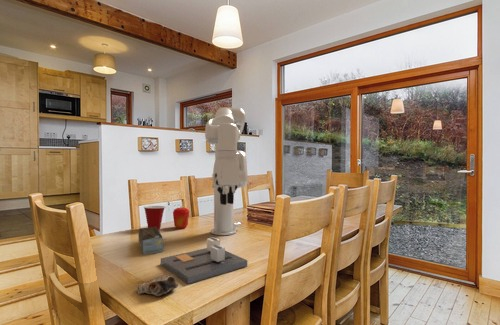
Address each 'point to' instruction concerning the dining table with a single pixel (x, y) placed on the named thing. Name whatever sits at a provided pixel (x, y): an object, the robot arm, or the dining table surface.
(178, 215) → the apple
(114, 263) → the dining table surface
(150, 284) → the rock
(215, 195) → the robot arm
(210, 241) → the fader cream
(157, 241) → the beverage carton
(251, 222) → the dining table surface
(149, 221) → the plastic cup
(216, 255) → the white block
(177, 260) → the console
